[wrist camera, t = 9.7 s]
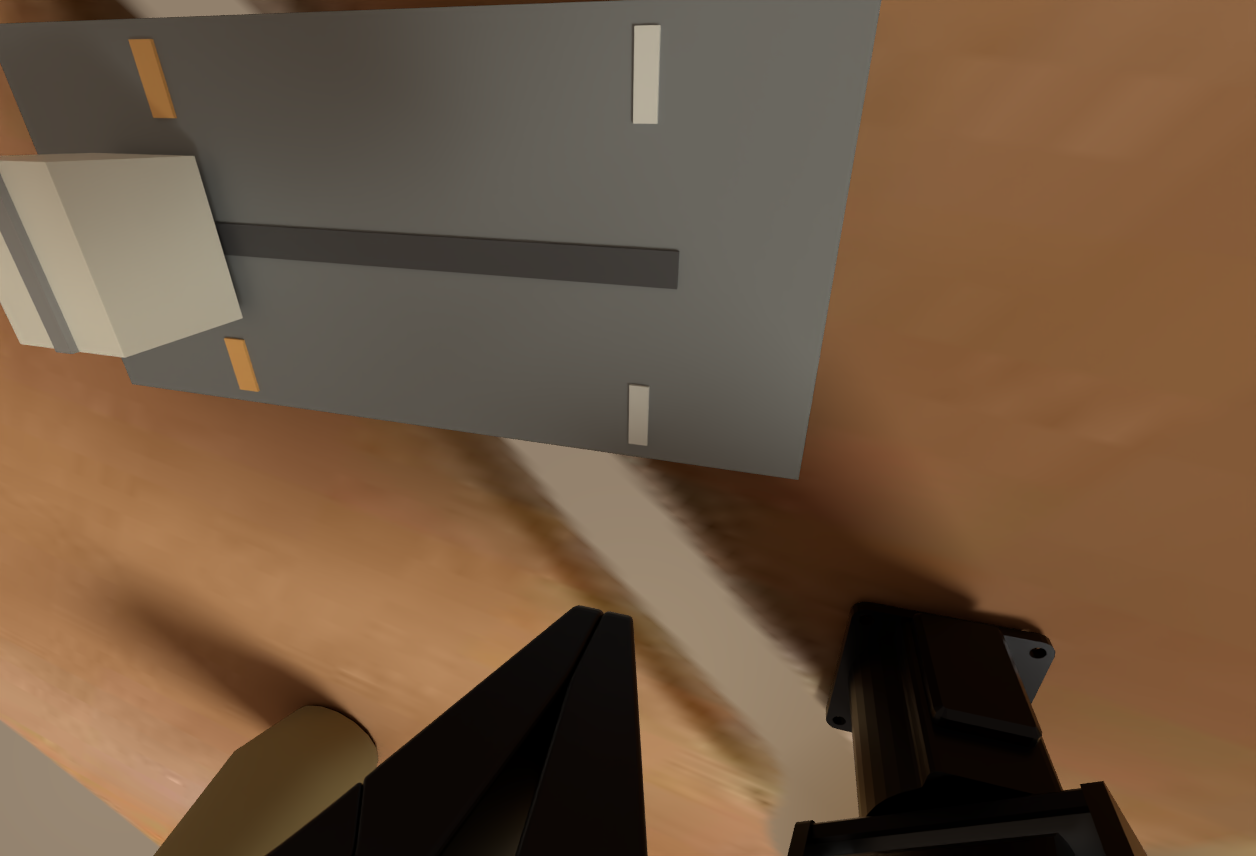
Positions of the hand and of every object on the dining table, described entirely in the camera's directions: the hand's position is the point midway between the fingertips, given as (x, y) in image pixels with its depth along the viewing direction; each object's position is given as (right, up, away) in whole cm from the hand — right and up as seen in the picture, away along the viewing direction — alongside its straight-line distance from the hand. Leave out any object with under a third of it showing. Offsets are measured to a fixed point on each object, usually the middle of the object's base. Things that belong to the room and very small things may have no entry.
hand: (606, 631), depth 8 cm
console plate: (-7, +9, +11) cm, 16 cm away
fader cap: (-15, +9, +11) cm, 20 cm away
